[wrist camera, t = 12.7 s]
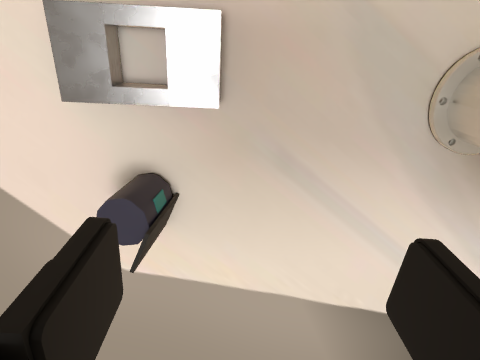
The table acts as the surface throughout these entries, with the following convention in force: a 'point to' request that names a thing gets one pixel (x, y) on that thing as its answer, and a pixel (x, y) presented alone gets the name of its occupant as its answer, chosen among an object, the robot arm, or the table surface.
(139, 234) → the speaker
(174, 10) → the plate with square hole
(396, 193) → the table surface
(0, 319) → the robot arm
